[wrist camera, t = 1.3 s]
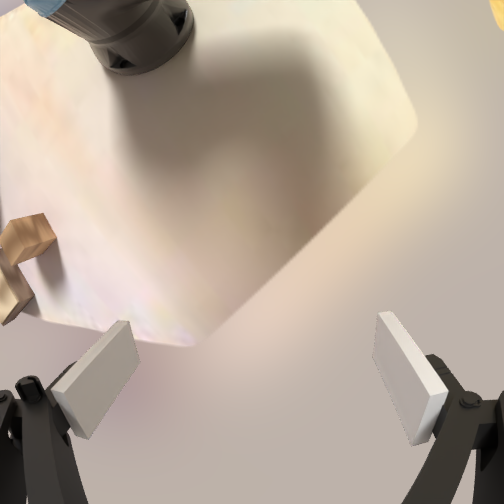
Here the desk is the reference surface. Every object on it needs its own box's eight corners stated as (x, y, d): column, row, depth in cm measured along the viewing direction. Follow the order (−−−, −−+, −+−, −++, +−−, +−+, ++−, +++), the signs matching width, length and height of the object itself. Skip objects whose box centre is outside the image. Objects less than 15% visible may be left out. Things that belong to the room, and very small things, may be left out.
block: (29, 230, 42) (-2, 239, 34) (43, 212, 41) (10, 220, 33) (42, 253, 42) (11, 266, 34) (56, 237, 41) (24, 248, 34)
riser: (-10, 274, 45) (-24, 281, 41) (7, 246, 43) (-8, 251, 38) (15, 318, 46) (1, 327, 42) (34, 294, 44) (20, 303, 40)
